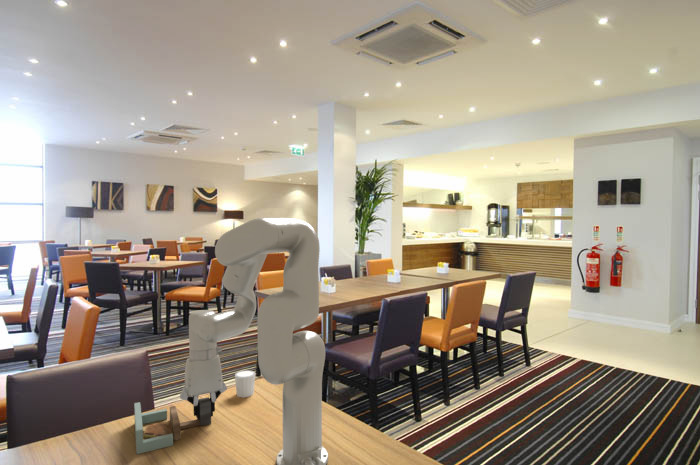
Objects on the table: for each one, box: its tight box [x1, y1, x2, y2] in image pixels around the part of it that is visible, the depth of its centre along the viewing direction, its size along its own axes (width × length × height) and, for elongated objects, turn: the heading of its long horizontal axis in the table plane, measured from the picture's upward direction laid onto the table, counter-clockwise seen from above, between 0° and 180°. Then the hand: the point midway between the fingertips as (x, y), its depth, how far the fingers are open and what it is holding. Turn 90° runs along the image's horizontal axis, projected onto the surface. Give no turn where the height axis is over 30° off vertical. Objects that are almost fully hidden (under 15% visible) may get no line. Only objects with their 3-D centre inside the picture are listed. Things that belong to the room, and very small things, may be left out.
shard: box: [143, 421, 173, 439], centre depth 113 cm, size 11×8×2 cm
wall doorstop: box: [169, 396, 212, 441], centre depth 118 cm, size 13×10×6 cm
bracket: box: [133, 401, 174, 455], centre depth 114 cm, size 18×8×6 cm, turn 29°
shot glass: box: [234, 369, 256, 398], centre depth 140 cm, size 7×7×7 cm
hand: (204, 415), depth 120 cm, fingers closed on wall doorstop, 3 cm apart
